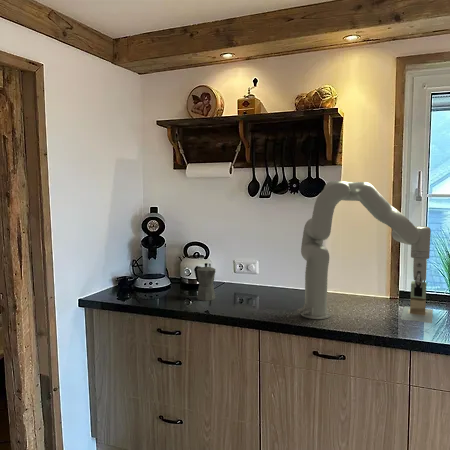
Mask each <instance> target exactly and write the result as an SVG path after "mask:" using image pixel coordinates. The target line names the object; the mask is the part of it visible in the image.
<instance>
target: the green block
mask: <svg viewBox="0 0 450 450" xmlns="http://www.w3.org/2000/svg"><path fill="white" fill-rule="evenodd" d="M420 283H421V282H420ZM420 286H421V285H420ZM414 287H415V280H412V281H411V284H410V298H411V297H414V298H423V299H426V300H427V298H426V296H427V281H425V282H424V281H423V282H422V297H417V296H414Z"/></svg>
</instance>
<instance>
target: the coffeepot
mask: <svg viewBox="0 0 450 450" xmlns="http://www.w3.org/2000/svg"><path fill="white" fill-rule="evenodd" d="M193 271H194V275H195V279H196V280H195V281H196V282H197V283H198V284H199V285H198V289H197V294H196V299H197V300H198V301H204V302H207V301H213V300H215V299H216V293H215V289H214V281H215V275H216V274H215V273H216V272H217V271H216V268H214V267H211V266H208V262H205V263H204V266H199V265H195V267H194V269H193Z"/></svg>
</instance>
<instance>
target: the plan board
mask: <svg viewBox="0 0 450 450" xmlns="http://www.w3.org/2000/svg"><path fill="white" fill-rule="evenodd" d="M433 312H434V311H433V309H430V308H425V315H420V314H412V313H410V306H403V310H402V312H401V317H400V320H405V321H410V322H411V321H413V322H421V323H429V324H433V315H434V313H433Z"/></svg>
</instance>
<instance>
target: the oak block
mask: <svg viewBox="0 0 450 450" xmlns="http://www.w3.org/2000/svg"><path fill="white" fill-rule="evenodd" d="M426 302H427V298H426V299H423V298H414V297H411V296H410V301H409V303H410V305H409V307H410V313H412V314H420V315H425V309H426V305H427V303H426Z"/></svg>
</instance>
